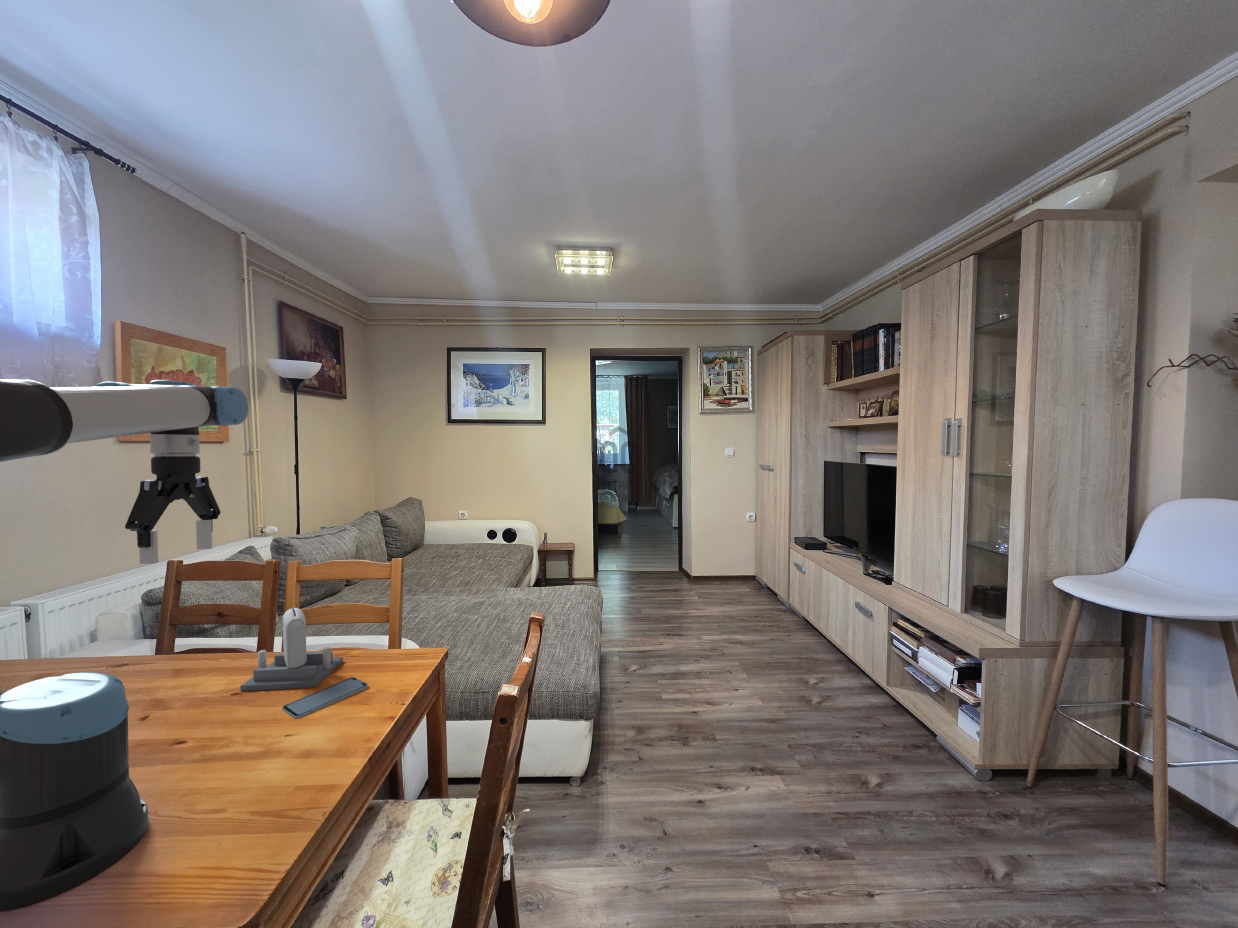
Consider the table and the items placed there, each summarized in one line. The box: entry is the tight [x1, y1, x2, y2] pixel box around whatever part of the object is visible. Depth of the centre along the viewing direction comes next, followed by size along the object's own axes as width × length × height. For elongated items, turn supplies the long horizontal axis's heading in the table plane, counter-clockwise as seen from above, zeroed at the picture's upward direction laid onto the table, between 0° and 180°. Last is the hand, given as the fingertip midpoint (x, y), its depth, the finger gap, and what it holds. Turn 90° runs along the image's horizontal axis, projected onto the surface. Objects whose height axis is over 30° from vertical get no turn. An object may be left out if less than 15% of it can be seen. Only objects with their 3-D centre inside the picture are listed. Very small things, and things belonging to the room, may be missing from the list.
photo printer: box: [282, 607, 307, 668], centre depth 112 cm, size 10×4×12 cm, turn 39°
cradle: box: [239, 646, 344, 692], centre depth 112 cm, size 13×16×6 cm
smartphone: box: [281, 676, 368, 719], centre depth 102 cm, size 7×1×15 cm
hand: (178, 555), depth 98 cm, fingers open, 13 cm apart
